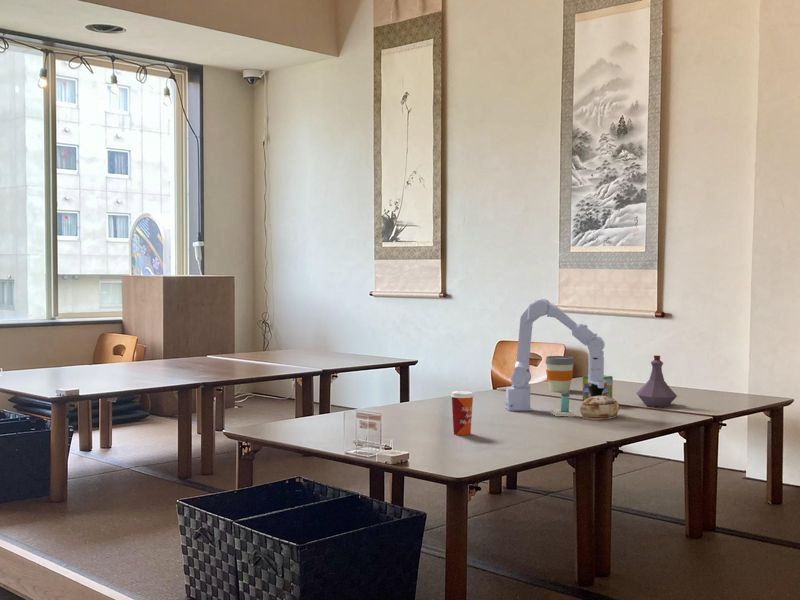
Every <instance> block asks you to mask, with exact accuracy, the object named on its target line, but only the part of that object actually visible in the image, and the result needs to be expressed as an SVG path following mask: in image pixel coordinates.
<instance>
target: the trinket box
mask: <svg viewBox="0 0 800 600" xmlns="http://www.w3.org/2000/svg"><path fill="white" fill-rule="evenodd" d="M619 409H620V404H619V403H618V401H617V400H616V399H615V398H613V397H612V398H611V397H608V396H593V397H589V398H587V399H586V400H584V401H583V400H582V403H581V404H580V407H579V411H580V414H581V418H582V417H583V418H582V419H584V418H585V419H584V420H593V421H596V420H597V421H598V420H599V421H600V420H609V419H613V418H614V419H615V418H616V417H617V415H618V413H619V411H620V410H619Z"/></svg>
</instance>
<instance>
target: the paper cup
mask: <svg viewBox="0 0 800 600" xmlns="http://www.w3.org/2000/svg"><path fill="white" fill-rule="evenodd" d="M450 397H451V409H452V424H453V425H452V427H453V428H452V429H453V435H456V436H461V435H464V436H470V435H471V432H472V431H471V429H472V415H473V401H474V393H473V392H472V391H467V390H461V391H460V390H457V391H456V390H455V391H451V395H450ZM469 434H470V435H469Z"/></svg>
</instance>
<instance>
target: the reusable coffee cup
mask: <svg viewBox="0 0 800 600" xmlns="http://www.w3.org/2000/svg"><path fill="white" fill-rule="evenodd" d="M545 364H546V369H545V371H546V373H545V374H546V379H547V381H548V389H549V390H548V391H550V392H555V393H562V392H568V391H569V392H570V390H571V382H572V380H573V375H574V364H575V362H574V357H573V356H567V355H549V356H545ZM569 392H568V393H569Z"/></svg>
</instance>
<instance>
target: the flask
mask: <svg viewBox="0 0 800 600" xmlns="http://www.w3.org/2000/svg"><path fill="white" fill-rule="evenodd" d="M650 364H651V367H652V368H651V373H650V375H649V379H648V380H647V382H646V383H645V384H644V385H643V386H642V387H641V388H640V389H639V390H638V391H637V392H636V393H635V394H636V395H637V396H638V398H639V399H640V400H641V402H642V403H643V404H644V405H645V406H646V405H648V406H647V407H652V406H665V407H668V406H670V405H671V404H672V402H673V401H674V400H676V398H677V397H678V395H677V394H676V393H675V392H674V390H672V388H670V386H669V384H668V383H667V382H666V380H665V378H664V374H663V370H662V369H663V368H662V367H663V365H664V362H663V361H662V360H661V355H656V354H655V355H653V360H651V361H650Z"/></svg>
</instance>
